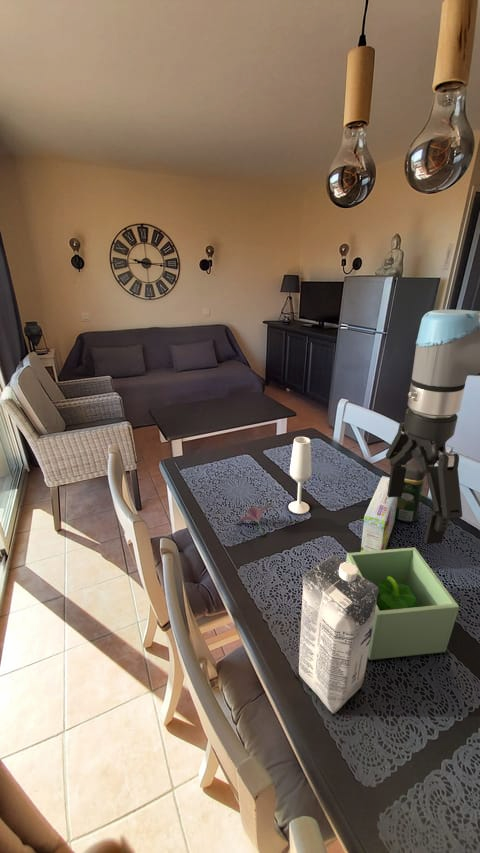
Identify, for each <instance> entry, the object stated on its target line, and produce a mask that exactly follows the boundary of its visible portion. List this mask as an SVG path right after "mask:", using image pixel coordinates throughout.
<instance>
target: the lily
mask: <svg viewBox="0 0 480 853" xmlns="http://www.w3.org/2000/svg"><path fill="white" fill-rule="evenodd" d="M271 507H274V504H271V503H269V504H266V505H264V506H262V507H260V508H259V507H258V506H252V507H250V508H248V509H247V510H246V513H245V516H243V517H241V518H239V519H238V520H237V521H236V523H237V522H238V523H237V524H238V525H239V524H241V523H243V522H244V521H247V520H248V521H253V522H256V523H258V526H259V529H260V531H261V534H262V536H264V531H263V529H262V526H261V523H260V520H261V518H262V516H263V515H264V514H263V513H264V512H265V510H268V509H269V508H271Z"/></svg>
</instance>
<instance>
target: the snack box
mask: <svg viewBox="0 0 480 853" xmlns="http://www.w3.org/2000/svg"><path fill="white" fill-rule="evenodd" d="M389 479H390V476H384V475H382V476H381V478H380V480H379V482H378V485H377V487H376V489H375V491H374V494H373V496H372V498H371V500H370V503H369V505H368V507H367V509H366V510H365V514H364V516H363V517H364V518H363V526H362V537H361V545H360V552H366V551H378V550H387V546H388V543H389V540H390V537H391V534H392V531H393V529H394V528H393V527H394V526H395V520H396V518H395V514H396V506H397V499H398V497H388V496H387V493H388V486H389Z"/></svg>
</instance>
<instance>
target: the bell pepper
mask: <svg viewBox="0 0 480 853" xmlns="http://www.w3.org/2000/svg"><path fill="white" fill-rule="evenodd" d="M376 586H377V587H378V596H377V601H376V604H377V606H378V608H379V610H380V611H383V610H394V609H404V608H414V607H417V606H418V603H417V600H416V598H415V596H414V594H413V592H412V591H411V589H410V587H409V586H406V585H403V584H397V583H396V581H395V580H394V579H393V578H392V577H390V576H388V577H387V580H385V581H383V582H380V583H378V584H377V585H376Z"/></svg>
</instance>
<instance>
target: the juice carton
mask: <svg viewBox="0 0 480 853" xmlns="http://www.w3.org/2000/svg"><path fill="white" fill-rule="evenodd" d="M357 573H358V569H357V567H356V566H355V565H353V564H352V563H347V562H346V561H343V560H342V559H341V558H339V557H338V556H337V555H335V554H332V555H330V556H328V557H327V558H326V559H325V560H323V561H322V562H321V563H319V564H318V565H316V566H315V567H313V568H311V569H310V570H308V571H306V572H304V573H302V601H301V613H300V614H301V615H300V633H299V634H300V636H299V649H298V650H299V652H298V675H299V676H300V678H301V679H302V680H303V681H304V682H305V684H306V685H307V686H308V687H309V688H310V689H311V690H312V691H313V692H314V693H315V694H316V696H317V697H318V699H320V701H321V702H322V703H323V704H324V706H325V707H326V708H327V709H328V710H329V711H330V713H331V714H332V715H333V714H336V713H337V712H338V711H340V709H341V708H342V707H343V706H344V705H345V704H346V703H347V702H348V700H349V699H351V698H352V697H353V696H354V695H355V694H356V693H357V692H358V691H359V690H360V689H361V688H362V686H363V685H364V684H363V683H364V680H365V675H366V674H365V673H366V667H367V662H368V651H369V646H370V640H371V634H372V628H373V622H374V616H375V609H376V601H377V596H378V587H377V586H376V585H375V584H373V583H372V582H370V581H368V580H367V579H365V578H363V577H362V576H360V575H358V574H357Z"/></svg>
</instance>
